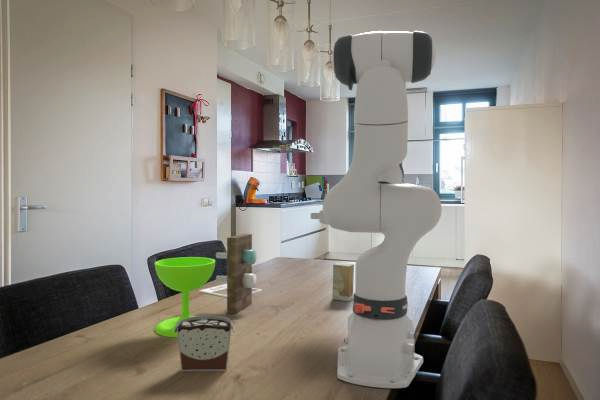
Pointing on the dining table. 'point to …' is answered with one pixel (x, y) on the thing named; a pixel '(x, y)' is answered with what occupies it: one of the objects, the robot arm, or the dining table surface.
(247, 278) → the knob lower
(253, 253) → the knob upper
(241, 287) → the block
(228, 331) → the food container
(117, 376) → the dining table surface
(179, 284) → the wineglass
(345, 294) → the skincare box
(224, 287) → the photo frame
